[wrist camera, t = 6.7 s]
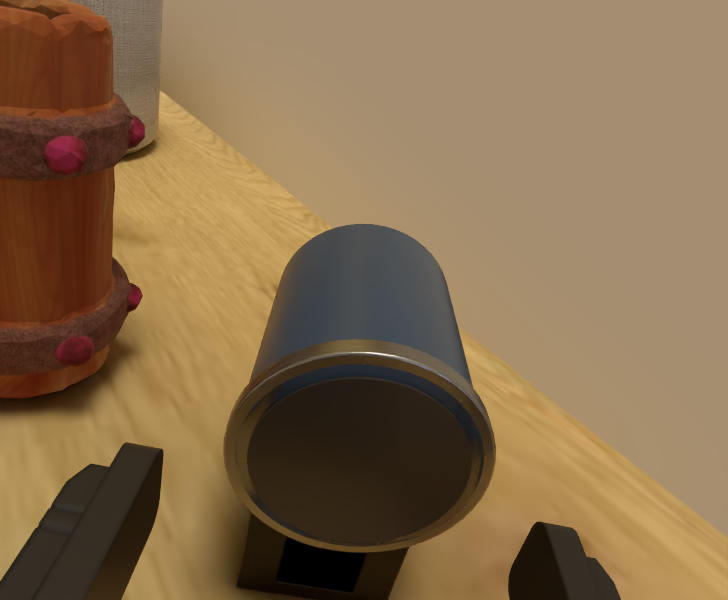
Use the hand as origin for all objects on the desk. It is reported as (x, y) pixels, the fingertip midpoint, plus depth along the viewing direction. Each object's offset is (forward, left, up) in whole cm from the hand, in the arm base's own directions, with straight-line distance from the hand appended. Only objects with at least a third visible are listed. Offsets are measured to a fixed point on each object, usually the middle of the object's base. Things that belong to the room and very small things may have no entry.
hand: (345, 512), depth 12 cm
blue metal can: (-4, +4, -4) cm, 7 cm away
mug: (-19, -4, -8) cm, 21 cm away
